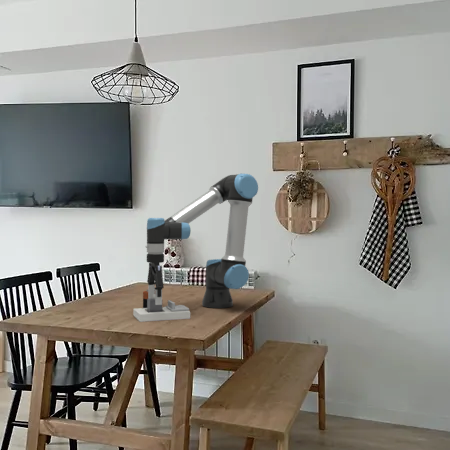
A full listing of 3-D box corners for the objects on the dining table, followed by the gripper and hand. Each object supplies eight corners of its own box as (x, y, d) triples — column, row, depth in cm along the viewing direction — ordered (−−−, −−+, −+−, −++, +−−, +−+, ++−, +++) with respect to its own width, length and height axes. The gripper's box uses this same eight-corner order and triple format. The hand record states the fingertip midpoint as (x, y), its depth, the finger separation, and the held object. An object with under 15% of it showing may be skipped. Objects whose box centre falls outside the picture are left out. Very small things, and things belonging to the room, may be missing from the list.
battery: (158, 309, 244) (158, 288, 243) (150, 311, 238) (150, 290, 237) (151, 308, 246) (151, 287, 246) (142, 310, 240) (142, 289, 240)
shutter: (182, 306, 235) (183, 299, 235) (189, 310, 225) (189, 302, 225) (165, 307, 232) (165, 299, 232) (171, 311, 223) (171, 303, 222)
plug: (159, 316, 228) (159, 293, 228) (162, 318, 224) (162, 295, 224) (147, 316, 226) (147, 294, 226) (149, 318, 222) (150, 295, 222)
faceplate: (181, 312, 237) (181, 306, 237) (190, 318, 224) (190, 311, 223) (133, 315, 229) (133, 308, 229) (139, 321, 216) (139, 314, 216)
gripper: (141, 251, 235) (140, 297, 235) (153, 255, 212) (152, 307, 212) (157, 251, 237) (156, 297, 238) (171, 255, 214) (170, 306, 215)
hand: (154, 302), depth 225 cm, fingers open, 13 cm apart
